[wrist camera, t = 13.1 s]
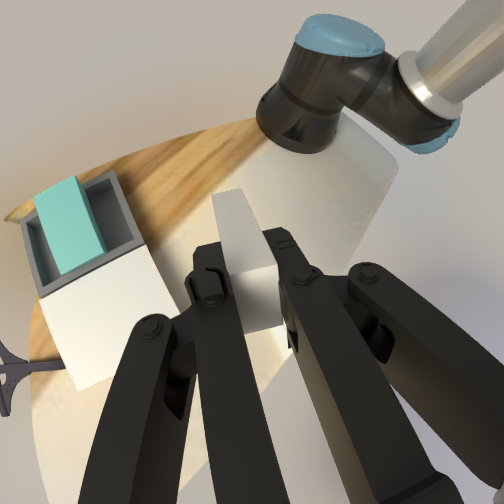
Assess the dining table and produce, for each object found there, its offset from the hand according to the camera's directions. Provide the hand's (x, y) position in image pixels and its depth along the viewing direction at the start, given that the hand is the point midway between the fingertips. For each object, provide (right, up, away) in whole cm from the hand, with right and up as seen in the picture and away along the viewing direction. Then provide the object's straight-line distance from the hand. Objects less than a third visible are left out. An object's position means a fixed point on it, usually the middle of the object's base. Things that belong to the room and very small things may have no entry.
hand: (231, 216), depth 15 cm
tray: (-23, 0, +21) cm, 31 cm away
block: (-19, -3, +17) cm, 26 cm away
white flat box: (-16, -11, +19) cm, 27 cm away
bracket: (-31, -18, +14) cm, 38 cm away
